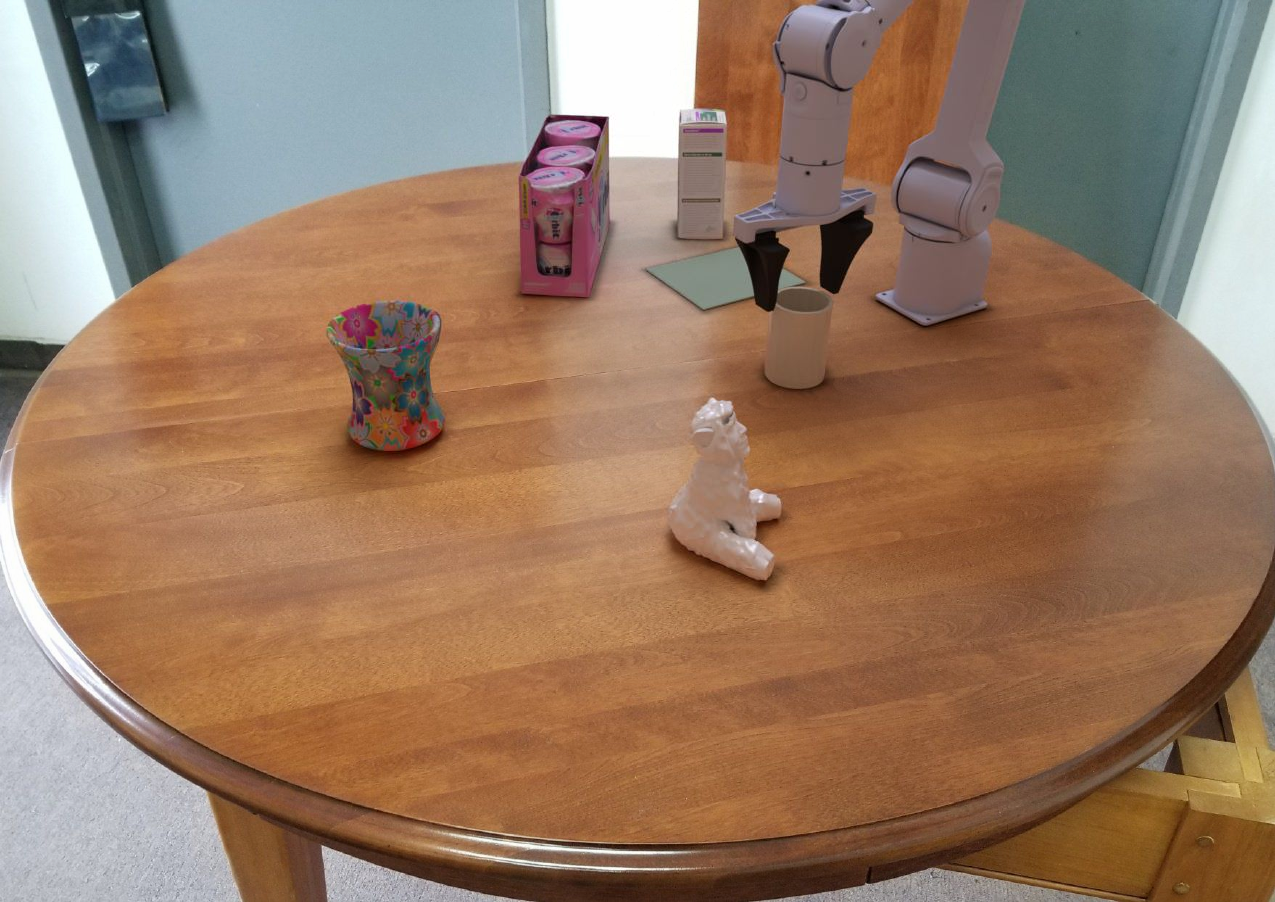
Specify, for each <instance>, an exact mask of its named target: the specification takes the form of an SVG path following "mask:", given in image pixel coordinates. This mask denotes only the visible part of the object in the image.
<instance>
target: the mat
mask: <svg viewBox="0 0 1275 902" xmlns="http://www.w3.org/2000/svg"><path fill="white" fill-rule="evenodd" d="M645 271H646V272H647V273H649V274H650V275H652V276H654V278H656V279H658V280H659V281H660V282H661V283H663V284H665V285H667V286H668V287H669V288H670V289H672V290H673V291H675V292H676V293H678V294H679V295H680V296H682V297H683V298H685V299H687V300H688V301H689V302H690V303H692V304H694V306H696V307H697V308H699V309H700V310H702V311H707V310H710V309H715V308H718V307H721V306H725V305H729V304H733V303H737V302H740V301H745V300H748V299H752V298H754V291H753V286H752V281H751V277H750V273H749V270H748V267H747V264H746V261H745V259H744V256H743V254H742V252H741V250H740V248H739V246H737V247H733V248H732V247H731V248H728V249H724V250H720V251H715V252H711V253H708V254H707V253H706V254H703V255H700V256H694V257H689V258H686V259H682V260H678V261H673V262H670V263H665V264H660V265H657V266H653V267H648V268H646V270H645ZM801 285H806V281H805V280H803V279H801V278H799V277H798V276H796V275H795V274H793V273H791V272H790V271H788V270H786V269H784V267H783V268H782V272H781V275H780V279H779V286H778V290H779V289H783V288H787V287H799V286H801Z"/></svg>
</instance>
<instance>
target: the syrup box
mask: <svg viewBox="0 0 1275 902" xmlns="http://www.w3.org/2000/svg"><path fill="white" fill-rule="evenodd" d="M727 137H728V122H727V116H726V110H724V109H719V108H687V109H680V110H679V117H678V144H677V145H678V147H677V149H678V151H677V152H678V154H677V208H676V211H677V212H676V213H677V214H676V216H677V217H676V219H677V220H676V223H677V238H678V239H685V240H723V237H724V218H725V201H726V200H725V197H726V180H727V179H726V177H727V176H726V174H727V139H728V138H727Z"/></svg>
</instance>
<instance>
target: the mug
mask: <svg viewBox="0 0 1275 902" xmlns="http://www.w3.org/2000/svg"><path fill="white" fill-rule="evenodd" d="M441 317H442V316H441V315H440V313H439V312H437V311H436V310H434V309H431V308H429V307H428V306H426V305H423V304H420V303H418V302H417V303H416V302H412V301H405V300H380V301H379V300H378V301H371V302H367V303H362V304H358V305H355V306H352V307H349V308H347V309H345V310H343V311H341V312H339V313H338V314H337V315H335V316H334V317H333V318H332V319H331V320H330V321H329V323H328V324H327V327H326V330H325V331H326V337H327V339H328V341H329V343H330V344H331V345H332V346H333V348H334V349H335V350H336V352H337V354H338V355H339V358H340V359H341V361H342V363H343V365H344V367H345V370H346V372H347V375H348V379H349V383H350V386H351V393H352V407H351V412H350V415H349V418H348V421H347V426H346V429H347V433H348V434H349V436H350V438H351V439H352V440H353V441H354V442H355V443H357V444H358V445H359V446H362V447H364V448H367V449H370V450H375V451H384V452H394V451H395V452H396V451H397V452H398V451H404V450H409V449H413V448H416V447H419V446H421V445H423V444H426V443H428V442H429V441H431V440H433V439H434V438H435V437H437V435H439V434H440V432H441V431H442V430H443V428H444V425H445V423H446V416H445V413H444V411H443V409H442V408H441V406H440V405H439V403H438V401H437V399H436V397H435V395H434V390H433V388H432V382H431V362H432V360H433V358H434V355H435V353H436V350H437V348H438V345H439V341H440V337H441V331H442V318H441Z"/></svg>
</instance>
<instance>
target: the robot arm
mask: <svg viewBox="0 0 1275 902" xmlns="http://www.w3.org/2000/svg"><path fill="white" fill-rule="evenodd" d="M914 1H915V0H818V1H816V3H815V4H811V3H808V4H803V5H801V6H799V7H798V8H796V9H794V10H793V11H791V12H790V13H789V14H788V15H787V16H786V17H785V18H784V19H783V21H782V23H781V24H780V27H779V29H778V32H777V37H776V41H774V42H773V43H772V58H773V63H774V66H775V68H776V70H777V72H778V76H779V77H778V78H779V80H778V82H779V83H778V91H779V92H780V96H781V97H783V107H782V117H781V129H780V142H779V155H778V165H777V178H776V188H775V191H774V192H772V199H770V200H769V201H766V202H764V203H762V204H760V205H758V206H756V207H754V208H752V209H749V210H748V211H745V212H742V213H738V214H735V215H734V216H733V230H732V231H733V232H732V236H733V237H734V240H735V243H737V247H739V248H740V250H741V252H742V254H743V256H744V259H745V261H746V264H747V267H748V270H749V273H750V277H751V281H752V286H753V291H754V297H753V298H754V305H756V306H757V307H758V308H760V309H762V310H763V311H765V312H766V313H769V312H771V311H774V309H775V306H776V302H777V295H778V286H779V279H780V275H781V272H782V268H783V269H784V265H785V262H786V260H787V258H788V255H789V253H790V252H791V249H790V248H789V247H787V246H786V245H784V244H782V243H780V238H779V237H777V233H781V232H786V231H790V230H794V229H799V228H803V227H808V226H811V227H812V226H819V233H820V245H821V249H820V250H821V251H820V252H821V253H820V263H819V264H820V265H819V287H820V288H822V289H823V290H825V291H827V292H828V293H830V294H832V295H836V294H839V293H840V291H841V288H842V287H843V283H844V281H845V279H846V276H847V274H848V272H849V269H850V267H851V265H852V263H853V262H854V259H855V257H856V256H857V253H859V251H860V249H861V247H862V246H863V245H864V243H865V242H866V241H867V240H868V239H869V237H870V236H871V235H872V234H873V231H874V230H873V229H874V222H873V221H871V220H870V219H869V218H865V216H869V215H874V214H875V209H876V202H877V195H878V194H877V193H876V192H874V191H871V190H869V189H867V188H865V187H863V186H861V187H858V188H851V189H850V188H849V189H848V188H847V189H843V185H844V183H843V182H844V174H845V167H846V158H847V150H848V142H849V133H850V126H851V118H852V108H853V100H854V92H855V86H856V85H858V84H859V82H861V81H863V80H864V78H865V77H866V75H868V73H869V70H870V68H871V66H872V64H873V60H874V57H875V54H876V52H877V51H878V49H879V48H880V47H881V43H882V42H883V36H882V35H884V33H885V32H886V31H887V30H888V29H889V28H890V27H891V26H892V25H893V24H894V23H895V22H896V20H898V19H899V17H900V16H901V15H903V13H904V12H905V11H906V10H907V9H908V8H909V7H910V5H912V4H913V2H914ZM1026 1H1027V0H968V2H967V5H966V6H967V7H966V10H965V13H964V17H963V21H962V25H961V28H960V32H959V35H958V39H957V44H956V47H955V50H954V55H953V58H952V62H951V66H950V69H949V73H948V77H947V80H946V83H945V84H946V85H945V88H944V92H943V96H942V99H941V103H940V106H939V110H938V114H937V117H936V120H935V125H934V129H933V130H932V131H930V132H929V133H928V134H926V135H924V136H922V137H920V138H918V139H916V140H915V141H913V142H911V143H910V144H909V145H908V147H907V150H906V152H905V153H906V154H905V157H904V159H903V161H902V164H901V165H900V168H899V169H898V170H897V172H896V174H895V176H894V180H893V181H892V185H891V190H890V191H891V192H890V198H891V205H892V208H893V210H894V211H895V213H897V214H899V216H898V224H899V225H902V226H903V231H902V236H901V237H902V238H901V244H900V250H899V256H898V263H897V268H896V275H895V282H894V287H893V289H889V290H886V291H882V292H878V293H876V295H875V299H876V300H877V301H879V302H880V303H883V304H884V305H886V306H888V307H889V308H891V309H893V310H894V311H896V312H898V313H900V314H901V315H904V316H905V317H907V318H909V319H910V320H912V321H914V322H916V323H918V324H919V325H921V326H930V325H933V324H937V323H940V322H943V321H946V320H947V321H948V320H949V319H950V320H951V319H952V318H956V317H959V316H960V317H961V316H963V315H966V314H969V313H974V312H977V311H979V310H983V309H987V308H988V302H986V301H985V300H983V297H984V291H985V288H986V282H987V279H988V273H989V269H990V264H991V258H992V254H993V253H992V251H993V245H992V244H993V243H992V240H991V236H990V234H989V232H988V230H987V229H988V228H989V227H990V225H991V224H992V223H993V221H994V219H995V217H996V215H997V213H998V210H999V207H1000V204H1001V203H1000V202H1001V185H1002V180H1003V175H1004V170H1005V164H1004V163H1003V160H1002V159H1001V158H1000V157H999V156H998V154H997V153H996V151H995V150H994V149H993V148H992V146H991V144H990V143H989V142H988V140H987V135H988V132H989V127H990V124H991V121H992V118H993V114H994V110H995V107H996V103H997V101H998V97H999V93H1000V90H1001V86H1002V83H1003V80H1004V76H1005V73H1006V70H1007V66H1008V64H1009V63H1008V62H1009V58H1010V55H1011V52H1012V49H1013V45H1014V42H1015V38H1016V35H1017V31H1018V28H1019V24H1020V21H1021V18H1022V14H1023V11H1024V7H1025V3H1026Z"/></svg>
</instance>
